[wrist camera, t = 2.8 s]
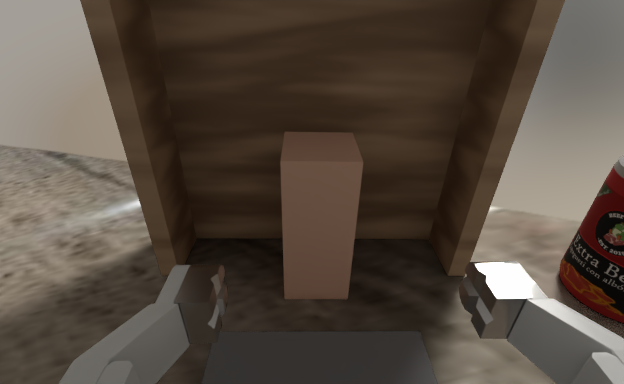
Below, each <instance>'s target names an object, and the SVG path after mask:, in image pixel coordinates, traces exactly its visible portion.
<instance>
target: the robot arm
mask: <svg viewBox="0 0 624 384" xmlns="http://www.w3.org/2000/svg"><path fill="white" fill-rule="evenodd" d="M465 273H466V274H467V277H465V278H464V279H463V280H462V281H461V283H460V287H459V294H460V299H461V303H462V305H463V307H464V309H465V310H467V311H468V312H469V313H471V314H472V318H471V322H472V324H473V326H474V327H475V329H476V331H477V333H478V335H479V337H480V339H507V341H508V342H510V343H511V344H512V345H513V346H514V347H515V348H517V349H518V350H519V351H520V352H521V353H522V354H523V355H525V356H526V357H527V358H528V359H529V360H530V361H532V362H533V363H534V364H535V365H536V366H537V367H539V368H540V369H541V370H542V371H543V372H544V373H545V374H547V375H548V376H549V377H550V378H551V379H552V380H554V381H555V382H556V383H557V384H624V338H622V337H620V336H618V335H617V334H615V333H613V332H611V331H610V330H608V329H606V328H604V327H603V326H601V325H599V324H597V323H595V322H594V321H592V320H590V319H588V318H587V317H585V316H583V315H581V314H580V313H578V312H576V311H574V310H573V309H571V308H569V307H567V306H566V305H564V304H562V303H560V302H558V301H557V300H555V299H549V298H548V297H547V296H546V295H545V294H544V293H543V291H542V290H541V289H540V288H539V287H538V285H537V284H536V283H535V282H534V281H533V279H532V278H531V277H530V276H529V275H528V273H527V272H526V271H525V270H524V269H523V267H522V266H521V265H520V264H519V263H517V262H516V261H500V262H469V263H468V264H467V265H466V268H465ZM224 275H225V272H224V267H223V266H222V265H175V266H174V267H173V268H172V270H171V272H170V274H169V276H168V278H167V280H166V282H165V284H164V286H163V288H162V290H161V292H160V294H159V296H158V298H157V300H156V302H155V304H149V305H148V306H147V307H145V308H144V309H142V310H141V311H140V312H138V313H137V314H136V315H134V316H133V317H132V318H130V319H129V320H128V321H126V322H125V323H123V324H122V325H121V326H119V327H118V328H117V329H115V330H114V331H113V332H111V333H110V334H109V335H107V336H106V337H104V338H103V339H102V340H100V341H99V342H98V343H96V344H95V345H94V346H92V347H91V348H89V349H88V350H87V351H85V352H84V353H83V354H81V355H80V356H79V357H77V358H76V359H75V360H74V361H73V362H72V364H71V365H70V367H69V368H68V370H67V371H66V373H65V374H64V376H63V377H62V379H61V381H60V382H59V384H156V383H157V382H158V381H159V380H160V379H161V377H162V376H163V375H164V374H165V373H166V372H167V371H168V370H169V368H170V367H171V366H172V365H173V364H174V363H175V362H176V361H177V360H178V358H179V357H180V356H181V355H182V354H183V353H184V352H185V351H186V349H187V348H188V347H189V346H190V344H202V343H217V342H218V338H219V334H220V330H221V327H222V321H221V316H222V315H223V314H224V313H225V311H226V307H227V299H228V289H227V284H226V283H225V282H224V281H223V279H224Z"/></svg>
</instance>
